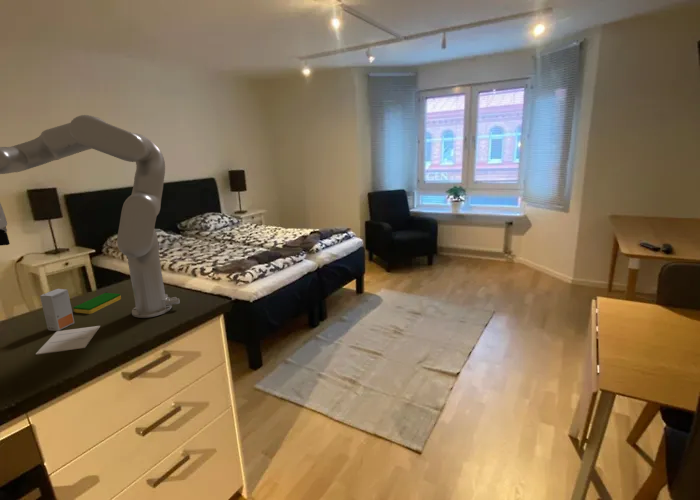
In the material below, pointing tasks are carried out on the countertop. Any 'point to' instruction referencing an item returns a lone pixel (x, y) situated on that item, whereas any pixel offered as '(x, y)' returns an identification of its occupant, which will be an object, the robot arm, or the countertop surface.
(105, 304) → the dish sponge
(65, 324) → the skincare box
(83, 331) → the paper
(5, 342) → the countertop surface
